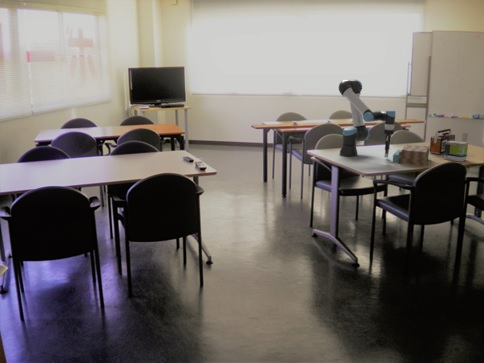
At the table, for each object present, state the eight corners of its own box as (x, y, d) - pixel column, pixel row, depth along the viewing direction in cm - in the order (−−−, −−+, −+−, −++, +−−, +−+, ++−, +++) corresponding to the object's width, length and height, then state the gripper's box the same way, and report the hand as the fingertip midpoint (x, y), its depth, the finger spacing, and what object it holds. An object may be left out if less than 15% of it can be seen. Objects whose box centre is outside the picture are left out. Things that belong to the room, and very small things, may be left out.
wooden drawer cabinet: (397, 163, 396) (399, 149, 394) (403, 157, 421) (404, 144, 418) (424, 165, 388) (425, 152, 385) (428, 159, 412) (429, 146, 410)
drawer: (392, 161, 400) (393, 154, 398) (397, 156, 421) (398, 149, 419) (422, 164, 390) (423, 157, 389) (425, 159, 411) (426, 152, 410)
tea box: (466, 160, 411) (468, 142, 407) (460, 161, 404) (463, 143, 400) (449, 157, 421) (451, 140, 418) (443, 159, 415) (445, 141, 411)
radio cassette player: (439, 155, 431) (442, 132, 426) (428, 153, 438) (430, 131, 433) (454, 151, 451) (456, 129, 446) (442, 149, 458) (445, 127, 453)
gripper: (392, 130, 400) (389, 159, 407) (395, 128, 412) (392, 156, 418) (383, 129, 403) (380, 158, 410) (385, 127, 415) (383, 155, 421)
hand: (386, 157), depth 414 cm, fingers closed
